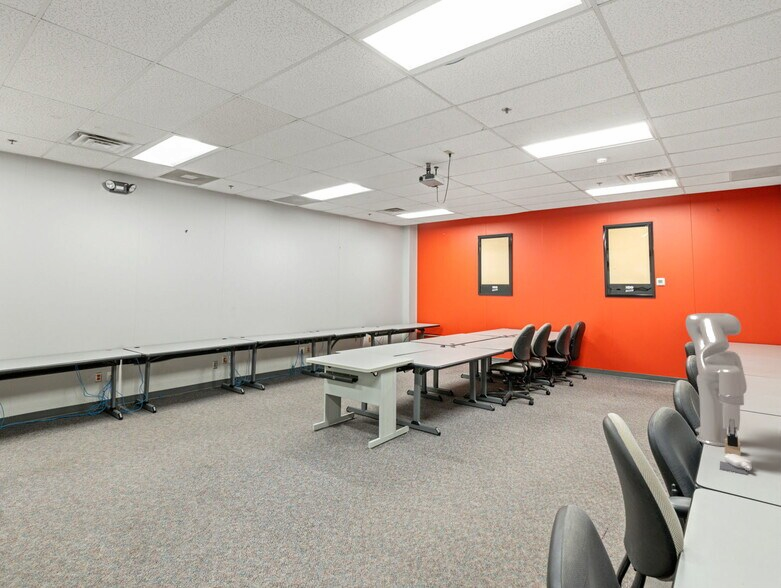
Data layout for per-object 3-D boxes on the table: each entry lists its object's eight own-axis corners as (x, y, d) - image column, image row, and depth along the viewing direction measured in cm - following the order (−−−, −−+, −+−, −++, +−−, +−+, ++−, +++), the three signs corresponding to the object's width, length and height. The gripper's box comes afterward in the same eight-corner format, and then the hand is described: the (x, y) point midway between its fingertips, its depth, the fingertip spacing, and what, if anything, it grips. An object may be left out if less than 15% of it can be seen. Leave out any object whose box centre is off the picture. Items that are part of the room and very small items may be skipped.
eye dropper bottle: (737, 466, 161) (756, 477, 150) (722, 459, 163) (739, 470, 151) (742, 456, 161) (761, 467, 150) (726, 449, 163) (744, 459, 151)
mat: (720, 462, 162) (720, 461, 162) (746, 467, 157) (746, 466, 157) (719, 469, 156) (719, 468, 156) (747, 475, 150) (747, 473, 150)
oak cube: (725, 449, 176) (724, 438, 176) (740, 452, 172) (739, 440, 173) (724, 453, 172) (724, 441, 172) (740, 456, 169) (740, 443, 169)
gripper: (719, 394, 171) (721, 438, 170) (718, 401, 159) (720, 449, 159) (743, 397, 166) (744, 442, 165) (744, 404, 154) (745, 453, 154)
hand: (732, 445), depth 162 cm, fingers closed
